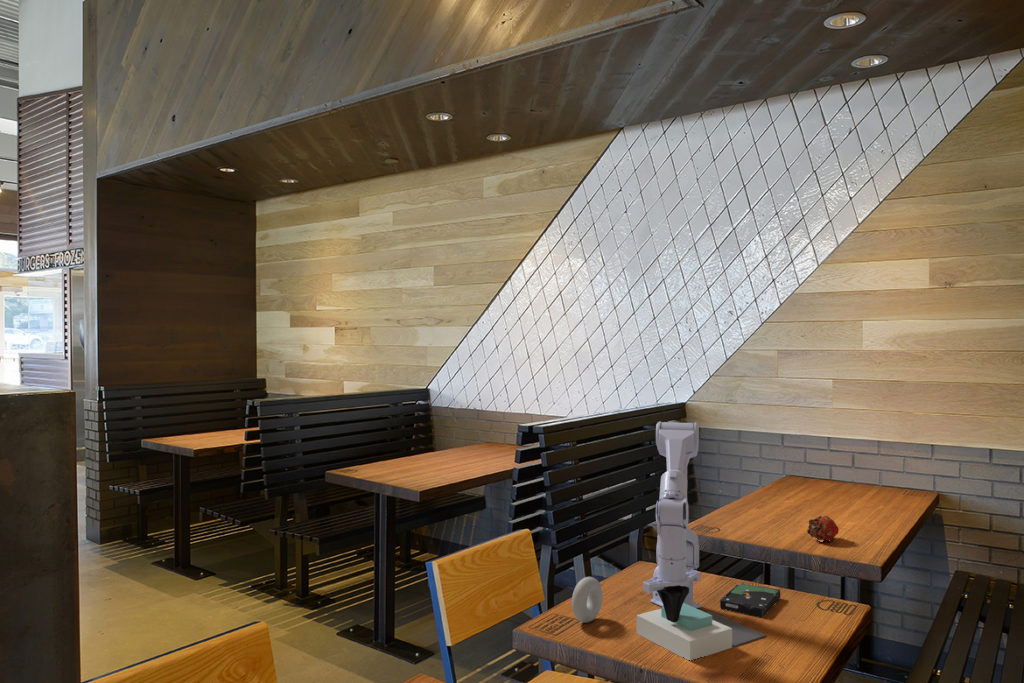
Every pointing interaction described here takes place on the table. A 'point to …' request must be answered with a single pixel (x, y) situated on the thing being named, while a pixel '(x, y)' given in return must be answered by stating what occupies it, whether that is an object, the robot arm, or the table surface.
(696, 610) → the teal rectangular block
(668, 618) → the robot arm
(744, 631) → the mat
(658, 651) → the table surface
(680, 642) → the white flat block
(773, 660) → the table surface
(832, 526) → the dragon fruit
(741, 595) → the disk drive
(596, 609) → the donut
